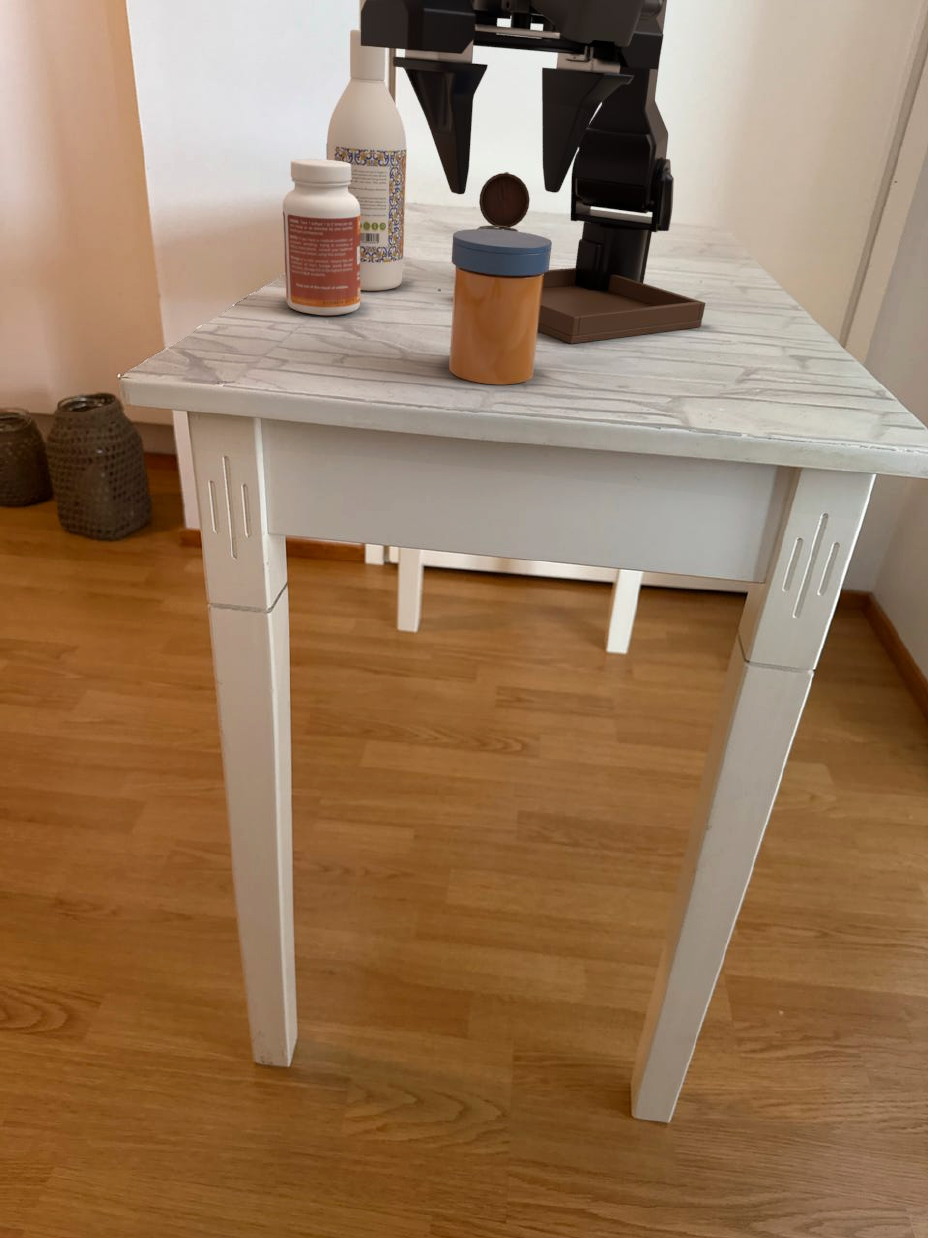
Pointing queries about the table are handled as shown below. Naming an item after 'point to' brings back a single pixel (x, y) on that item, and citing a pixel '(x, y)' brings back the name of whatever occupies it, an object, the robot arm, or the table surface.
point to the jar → (494, 326)
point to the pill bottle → (322, 239)
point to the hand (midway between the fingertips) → (506, 192)
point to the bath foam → (372, 164)
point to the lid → (501, 252)
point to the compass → (504, 201)
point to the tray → (611, 309)
